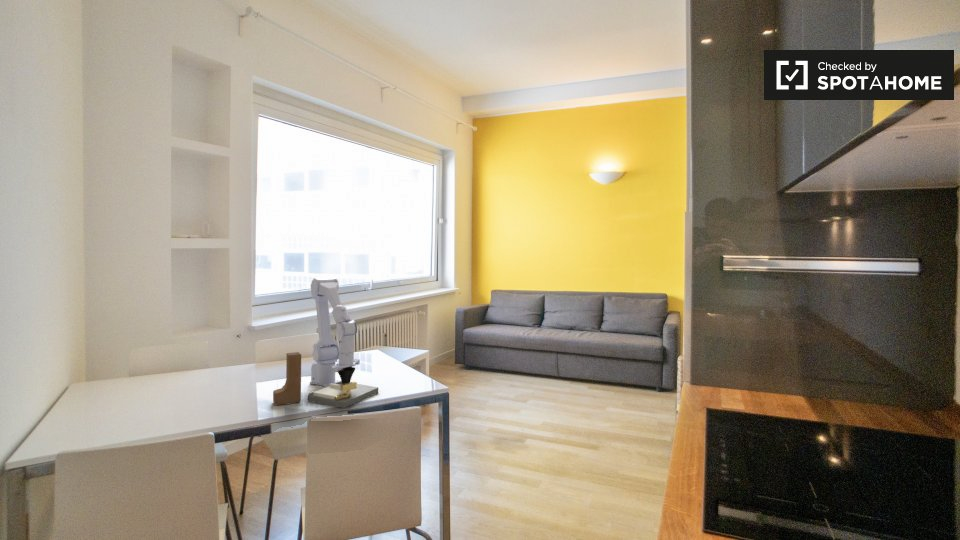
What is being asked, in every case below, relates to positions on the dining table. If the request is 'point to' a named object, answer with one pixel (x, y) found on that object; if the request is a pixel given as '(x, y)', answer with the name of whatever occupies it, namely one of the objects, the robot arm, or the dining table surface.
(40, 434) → the dining table surface
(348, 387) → the key
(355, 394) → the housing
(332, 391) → the cover
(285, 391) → the wooden block
